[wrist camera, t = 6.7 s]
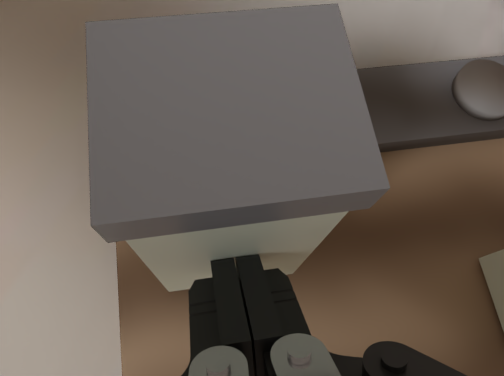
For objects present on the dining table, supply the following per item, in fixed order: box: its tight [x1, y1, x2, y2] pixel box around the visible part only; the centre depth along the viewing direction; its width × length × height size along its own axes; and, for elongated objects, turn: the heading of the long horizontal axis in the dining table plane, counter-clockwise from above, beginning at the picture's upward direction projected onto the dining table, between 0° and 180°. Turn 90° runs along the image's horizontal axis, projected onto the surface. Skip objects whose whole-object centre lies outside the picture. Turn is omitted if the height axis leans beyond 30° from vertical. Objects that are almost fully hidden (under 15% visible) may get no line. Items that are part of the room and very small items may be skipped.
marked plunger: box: [86, 4, 390, 292], centre depth 13 cm, size 4×5×10 cm
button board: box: [116, 56, 504, 376], centre depth 19 cm, size 16×22×5 cm
